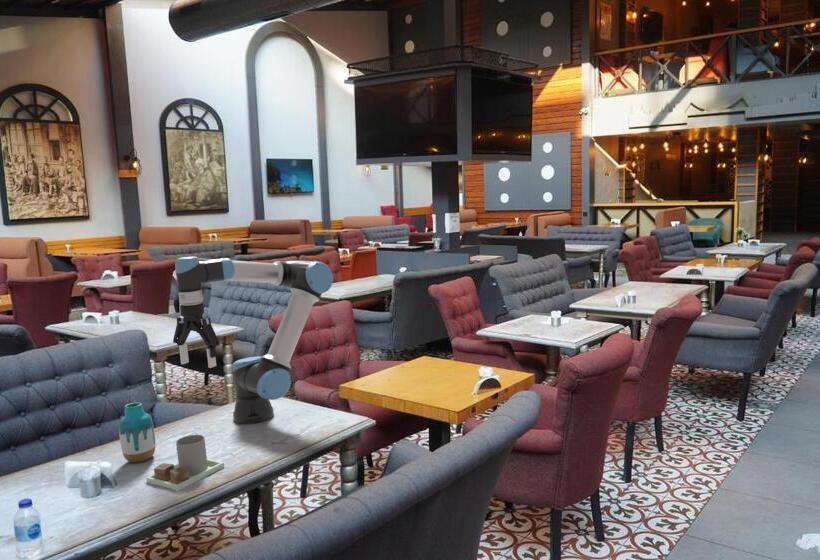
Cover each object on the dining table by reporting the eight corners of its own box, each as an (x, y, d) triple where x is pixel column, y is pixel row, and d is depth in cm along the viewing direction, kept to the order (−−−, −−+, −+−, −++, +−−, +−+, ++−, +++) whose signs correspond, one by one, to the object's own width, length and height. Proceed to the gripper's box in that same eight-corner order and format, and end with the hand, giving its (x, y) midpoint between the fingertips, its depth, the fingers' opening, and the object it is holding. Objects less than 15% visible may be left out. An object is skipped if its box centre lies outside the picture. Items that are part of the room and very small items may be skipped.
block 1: (164, 475, 206) (163, 463, 206) (175, 476, 205) (173, 464, 204) (155, 480, 203) (153, 468, 202) (165, 482, 201) (164, 469, 200)
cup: (199, 476, 204) (195, 445, 202) (174, 475, 205) (170, 445, 204) (212, 464, 212) (209, 434, 210) (188, 464, 213) (185, 434, 212)
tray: (194, 461, 217) (193, 455, 217) (224, 468, 210) (223, 462, 210) (147, 484, 202) (146, 477, 202) (177, 492, 195) (177, 486, 195)
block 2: (184, 478, 203) (182, 466, 202) (189, 482, 200) (188, 469, 199) (171, 483, 200) (169, 470, 199) (177, 487, 197) (175, 474, 197)
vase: (144, 467, 215) (137, 410, 212) (116, 466, 217) (108, 410, 214) (164, 454, 225) (157, 399, 222) (136, 453, 227) (129, 399, 225)
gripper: (157, 303, 226) (165, 364, 229) (208, 307, 213) (215, 371, 216) (175, 299, 232) (182, 359, 235) (226, 302, 219) (233, 365, 222)
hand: (198, 365), depth 226 cm, fingers open, 13 cm apart
